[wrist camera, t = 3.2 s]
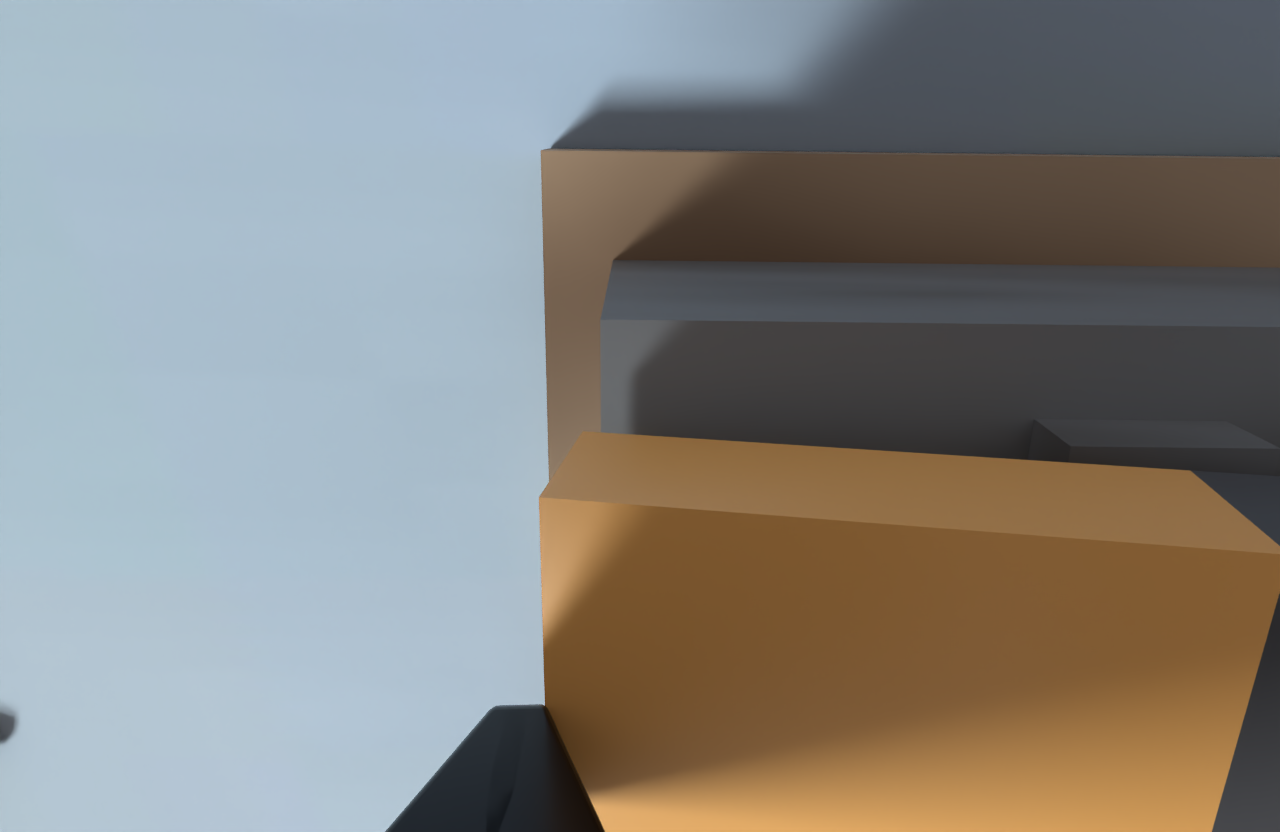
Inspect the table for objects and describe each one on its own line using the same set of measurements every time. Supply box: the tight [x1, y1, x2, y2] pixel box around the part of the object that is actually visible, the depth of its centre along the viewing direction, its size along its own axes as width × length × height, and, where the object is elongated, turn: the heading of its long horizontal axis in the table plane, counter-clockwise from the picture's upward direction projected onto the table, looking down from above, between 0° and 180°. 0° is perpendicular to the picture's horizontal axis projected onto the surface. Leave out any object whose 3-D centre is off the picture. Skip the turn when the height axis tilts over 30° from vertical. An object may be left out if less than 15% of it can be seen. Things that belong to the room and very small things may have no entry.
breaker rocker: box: [539, 431, 1280, 832], centre depth 8 cm, size 11×5×2 cm, turn 89°
